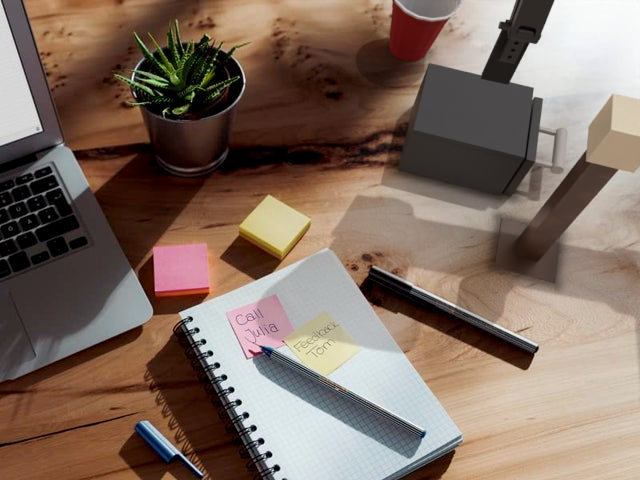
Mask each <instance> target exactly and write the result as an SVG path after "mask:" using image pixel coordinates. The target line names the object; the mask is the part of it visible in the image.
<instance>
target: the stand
mask: <svg viewBox="0 0 640 480" xmlns="http://www.w3.org/2000/svg"><path fill="white" fill-rule="evenodd" d="M586 153H587V149H585V151H584V152H583V153H582V155H581V156H580V157H579V158H578V160H577V161H576V162H575V164H574V165H573V166H572V168H571V169H570V170H569V171H568V173H567V174H566V175H565V177H564V178H563V179H562V180H561V182H560V183H559V184H558V186H557V187H556V188H555V190H554V191H553V192H551V195H550V196H549V197H548V198H547V199H546V201H545V203H544V204H543V205H542V206H541V208H539V210H538V211H537V213H536V214H535V216H534V217H533V218H532V219H531V221H529V223H528V224H525V223H523V222H518V221H514V220H510V219H506V218H501V219H500V226H499V231H498V232H499V233H498V239H497V246H496V253H495V261H494V268H496V269H500V270H505V271H508V272H512V273H516V274H519V275H523V276H525V277H531V278H535V279H538V280H542V281H546V282H549V283H553V284H555V283H556V281H557V270H558V260H559V249H560V237H561V236H562V235H564V233H565V232H566V231H567V230H568V228H569V227H570V226H571V225H572V223H573V222H574V221H576V219H577V218H578V217H579V216H580V215H581V214H582V212H583V211H584V210H585V209H586V208H587V207H588V206H589V205H590V203H591V202H592V201H593V200H594V199H595V198H596V197H597V196H598V194H599V193H600V192H601V191H602V190H603V189H604V187H605V186H606V185H607V184H608V183H609V182H610V181H611V180H612V178H613V177H614V176H615V175H616V174H617V172H618V171H620V170H619V169H615V168H611V167H607V166H603V165H599V164H595V163H591V162H587V161H586Z"/></svg>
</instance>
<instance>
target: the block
mask: <svg viewBox="0 0 640 480" xmlns="http://www.w3.org/2000/svg"><path fill="white" fill-rule="evenodd" d="M586 143H587V144H586V150H587V153H586V161H587V162H591V163H595V164H599V165H603V166H607V167H611V168H615V169H619V170H618V171H623V172H628V173H631V174H635V172H637V170H638V169H640V99H639V98H634V97H631V96H626V95H623V94H618V93H612V94H611V96H610V97H608V99H607V101H606V102H605V103H604V105H603V106H602V107H601V109H600V110H599V111H598V113H597V114H596V116H595V117H594V118H593V119H592V121H591V123H590V124H589V125H588V129H587V140H586Z"/></svg>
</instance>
